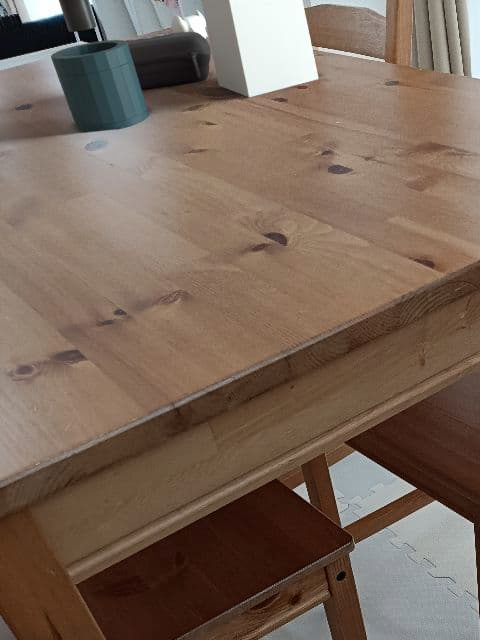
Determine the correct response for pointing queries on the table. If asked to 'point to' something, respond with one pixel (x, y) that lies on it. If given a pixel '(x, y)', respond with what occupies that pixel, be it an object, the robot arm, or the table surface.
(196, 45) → the glasses case
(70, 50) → the jar
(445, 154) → the table surface
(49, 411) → the table surface
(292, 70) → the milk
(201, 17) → the elephant figurine
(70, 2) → the brush
